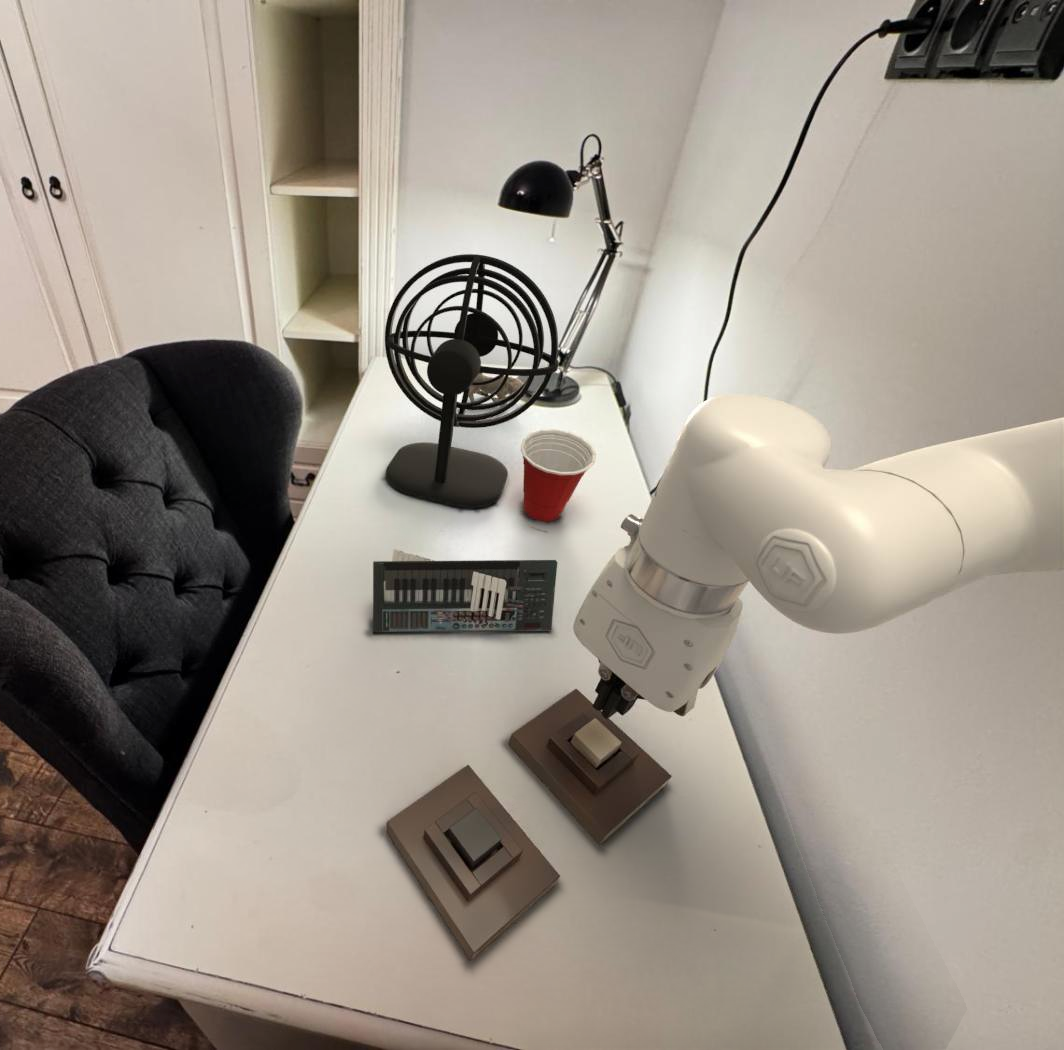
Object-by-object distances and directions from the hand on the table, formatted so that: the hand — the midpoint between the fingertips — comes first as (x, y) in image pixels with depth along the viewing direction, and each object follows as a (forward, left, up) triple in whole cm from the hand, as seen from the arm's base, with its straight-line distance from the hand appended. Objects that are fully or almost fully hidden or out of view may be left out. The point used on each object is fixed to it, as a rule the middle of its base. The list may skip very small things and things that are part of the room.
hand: (609, 705), depth 53 cm
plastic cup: (+32, -28, -11) cm, 43 cm away
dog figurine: (+63, -47, -11) cm, 79 cm away
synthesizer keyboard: (+22, -2, -11) cm, 24 cm away
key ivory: (0, 0, -7) cm, 7 cm away
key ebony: (0, +16, -7) cm, 17 cm away
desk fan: (+48, -22, -11) cm, 53 cm away
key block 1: (0, +16, -10) cm, 19 cm away
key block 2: (0, 0, -10) cm, 10 cm away
